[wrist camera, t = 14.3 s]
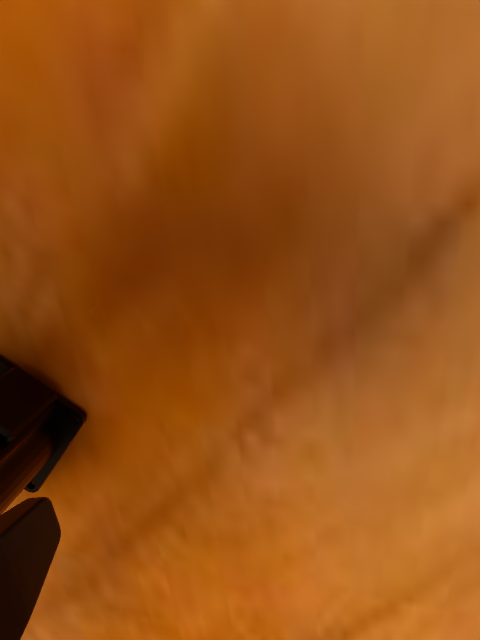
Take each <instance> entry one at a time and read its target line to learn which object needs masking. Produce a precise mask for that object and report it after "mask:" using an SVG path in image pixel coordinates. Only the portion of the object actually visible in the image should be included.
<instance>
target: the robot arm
mask: <svg viewBox="0 0 480 640" xmlns="http://www.w3.org/2000/svg"><path fill="white" fill-rule="evenodd" d="M73 416H76V417H77V418H78V419H79V420H76V419H75V418H74V417H73ZM85 421H86V414H85V412H84V411H82V410H81V409H80V408H78V407H77V406H75V405H74V404H72V403H71V402H69V401H68V400H66V399H65V398H63V397H62V396H60V395H59V394H57V393H56V392H54V391H53V390H51V389H50V388H48V387H47V386H45V385H44V384H42V383H40V382H39V381H37V380H36V379H34V378H33V377H31V376H30V375H28V374H27V373H25V372H24V371H22V370H21V369H19V368H18V367H16V366H15V365H13V364H12V363H10V362H9V361H7V360H6V359H4V358H3V357H1V356H0V640H20V639H21V637H22V635H23V633H24V630H25V628H26V626H27V624H28V622H29V619H30V617H31V615H32V612H33V610H34V607H35V605H36V602H37V599H38V597H39V594H40V592H41V589H42V586H43V584H44V581H45V578H46V576H47V573H48V570H49V568H50V565H51V563H52V560H53V557H54V555H55V552H56V549H57V547H58V544H59V541H60V537H61V529H60V525H59V522H58V519H57V517H56V514H55V511H54V508H53V505H52V502H51V501H50V499H49V498H46V497H37V498H29V499H26V500H25V501H23V502H21V503H20V504H18V505H16V506H15V507H13V508H12V509H10V510H8V511H7V512H5V513H3V512H4V510H5V509H6V508H7V507H8V506H9V505H10V504H11V503H12V501H13V500H14V499H15V498H16V497H17V496H18V495H19V493H20V492H21V491H22V490H23V489H25V490H27V491H28V492H32V493H34V492H37V491H38V490H39V488H40V487H41V486H42V485H43V483H44V482H45V480H46V479H47V477H48V476H49V474H50V473H51V471H52V470H53V468H54V467H55V466H56V464H57V463H58V461H59V460H60V458H61V457H62V455H63V454H64V452H65V451H66V449H67V448H68V446H69V445H70V443H71V442H72V440H73V439H74V437H75V436H76V435H77V433H78V432H79V430H80V429H81V427H82V426H83V424H84V423H85ZM32 482H33V483H34V484H33V483H32ZM2 513H3V514H2ZM1 514H2V515H1Z"/></svg>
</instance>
